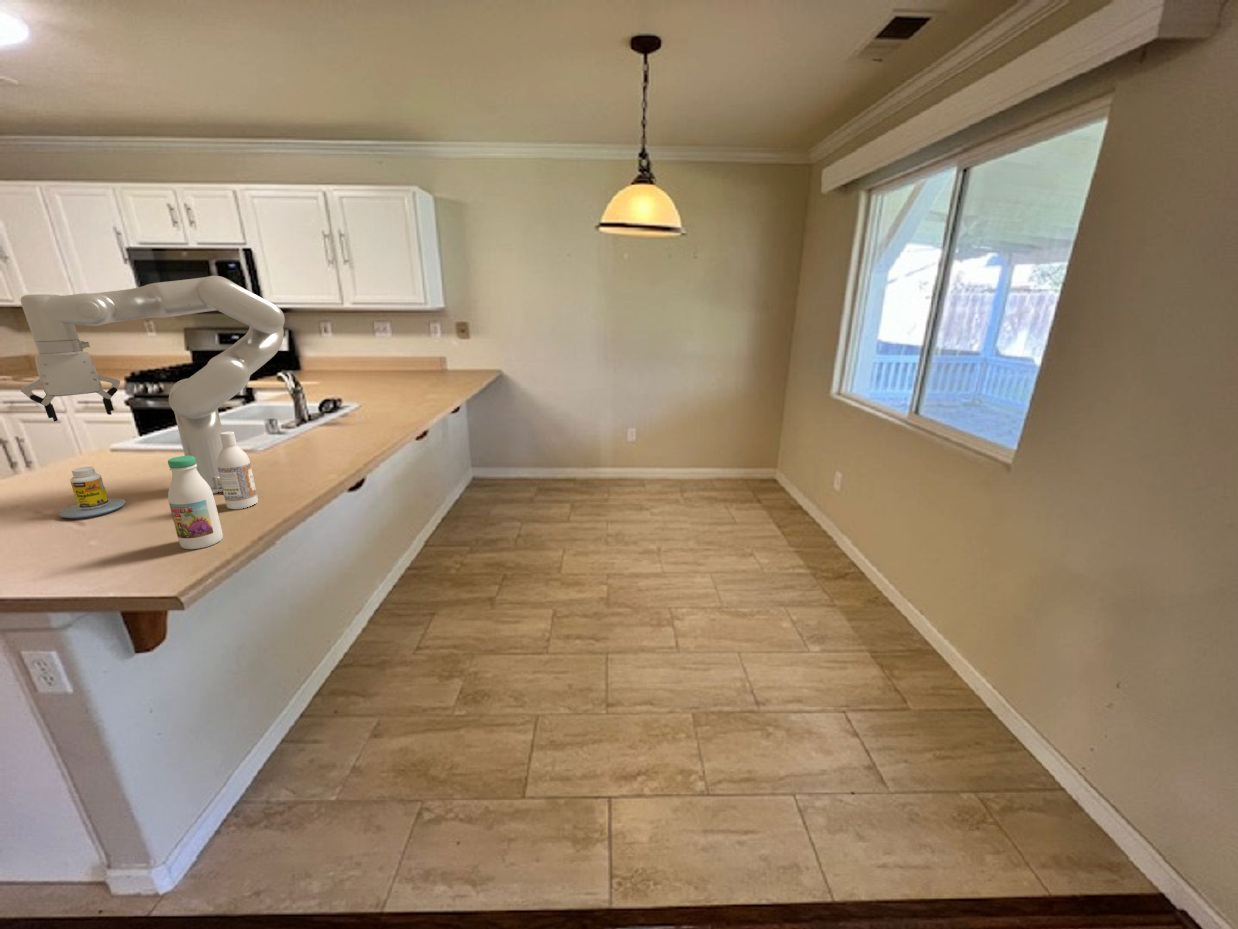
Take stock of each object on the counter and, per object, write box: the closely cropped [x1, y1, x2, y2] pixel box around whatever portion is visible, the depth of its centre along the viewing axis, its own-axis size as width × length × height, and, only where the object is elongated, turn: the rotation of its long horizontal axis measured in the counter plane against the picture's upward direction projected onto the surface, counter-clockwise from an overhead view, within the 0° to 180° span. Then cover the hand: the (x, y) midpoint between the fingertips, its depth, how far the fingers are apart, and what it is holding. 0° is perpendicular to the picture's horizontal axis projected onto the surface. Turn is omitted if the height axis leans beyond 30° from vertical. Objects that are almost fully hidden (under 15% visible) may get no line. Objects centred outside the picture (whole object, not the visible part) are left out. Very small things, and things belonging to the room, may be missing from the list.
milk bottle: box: [167, 455, 224, 550], centre depth 113 cm, size 8×8×20 cm
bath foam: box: [217, 430, 259, 510], centre depth 135 cm, size 7×7×20 cm
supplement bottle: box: [69, 466, 109, 510], centre depth 131 cm, size 6×6×10 cm
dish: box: [58, 497, 126, 520], centre depth 132 cm, size 12×12×1 cm
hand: (83, 417), depth 130 cm, fingers open, 9 cm apart
